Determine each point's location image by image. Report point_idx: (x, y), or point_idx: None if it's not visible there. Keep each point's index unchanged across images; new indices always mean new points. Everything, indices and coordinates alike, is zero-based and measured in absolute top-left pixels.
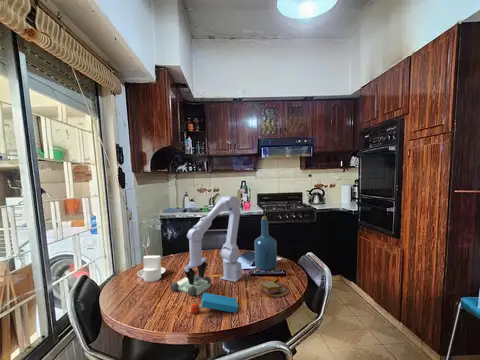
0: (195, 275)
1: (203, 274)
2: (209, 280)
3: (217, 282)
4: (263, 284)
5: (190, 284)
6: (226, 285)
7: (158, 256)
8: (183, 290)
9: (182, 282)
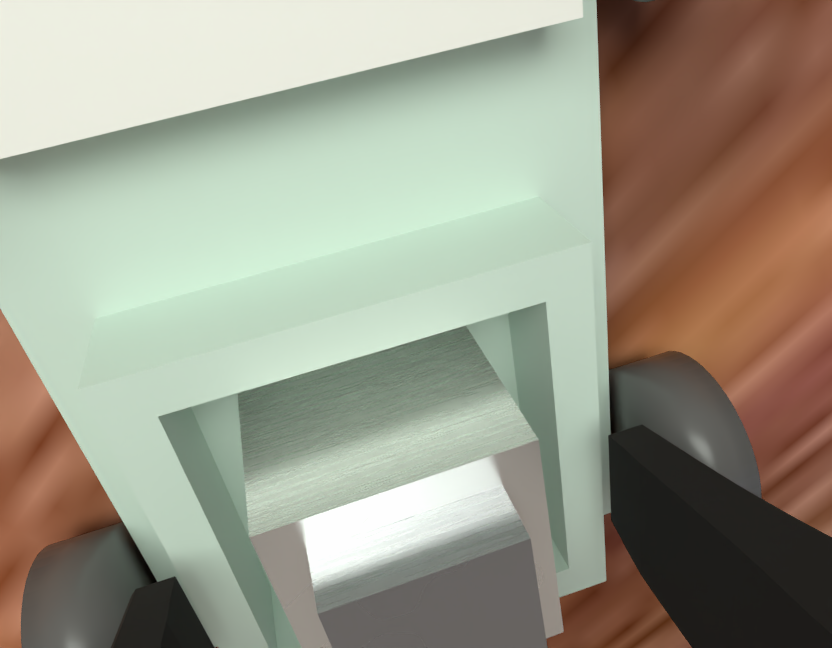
0: (507, 567)
1: (689, 622)
2: None
3: (771, 444)
4: None
5: (243, 433)
6: None
7: None
8: (19, 324)
9: (166, 17)
